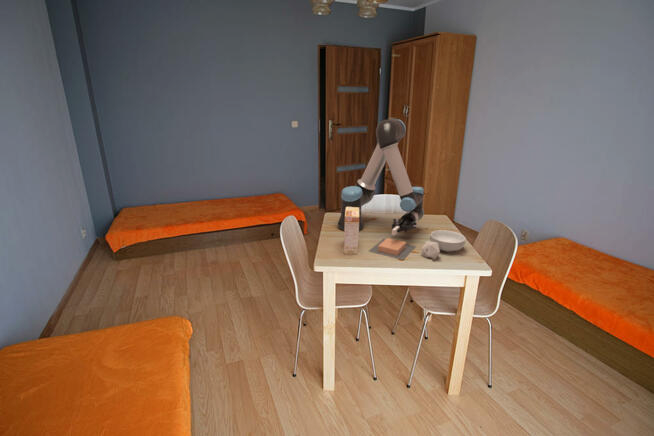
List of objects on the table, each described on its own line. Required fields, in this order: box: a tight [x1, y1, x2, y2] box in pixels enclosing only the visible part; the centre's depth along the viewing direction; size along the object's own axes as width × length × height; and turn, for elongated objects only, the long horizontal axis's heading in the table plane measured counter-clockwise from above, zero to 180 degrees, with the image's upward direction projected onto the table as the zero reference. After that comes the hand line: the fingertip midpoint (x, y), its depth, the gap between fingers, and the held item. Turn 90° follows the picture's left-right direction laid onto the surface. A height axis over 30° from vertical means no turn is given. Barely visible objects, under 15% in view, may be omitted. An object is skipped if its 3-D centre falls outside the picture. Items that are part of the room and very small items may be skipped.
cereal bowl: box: [429, 229, 467, 253], centre depth 175 cm, size 17×17×7 cm
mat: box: [368, 238, 417, 261], centre depth 173 cm, size 18×19×1 cm
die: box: [421, 240, 441, 260], centre depth 165 cm, size 8×9×10 cm
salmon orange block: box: [378, 237, 407, 256], centre depth 172 cm, size 10×3×12 cm
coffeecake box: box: [343, 207, 360, 255], centre depth 172 cm, size 15×7×20 cm, turn 175°
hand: (393, 232), depth 169 cm, fingers closed
